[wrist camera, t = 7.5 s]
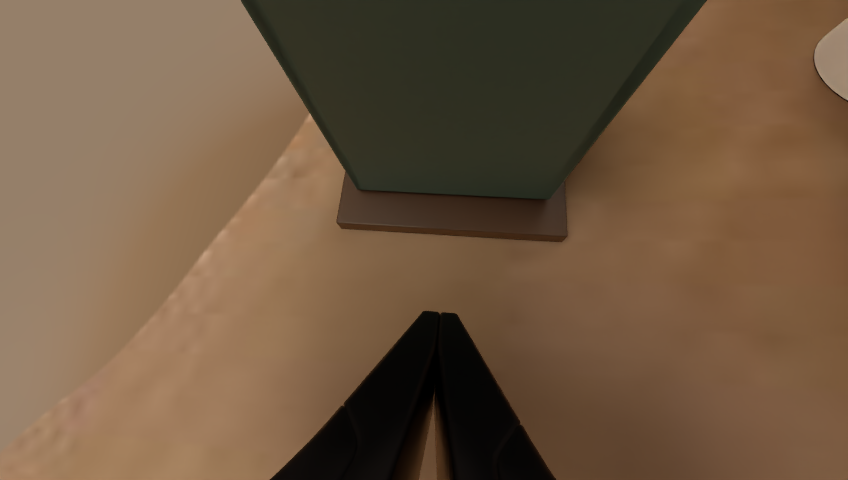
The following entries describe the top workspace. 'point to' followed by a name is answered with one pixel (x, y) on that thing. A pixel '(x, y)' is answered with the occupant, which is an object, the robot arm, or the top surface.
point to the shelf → (466, 83)
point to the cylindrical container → (834, 59)
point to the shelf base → (454, 214)
